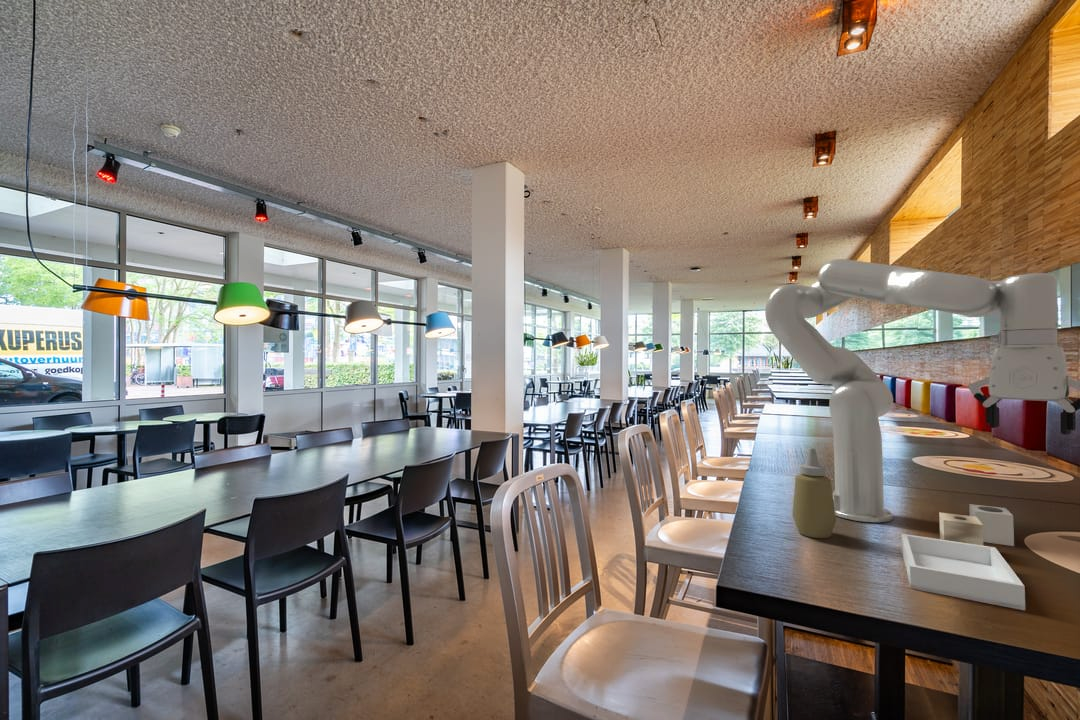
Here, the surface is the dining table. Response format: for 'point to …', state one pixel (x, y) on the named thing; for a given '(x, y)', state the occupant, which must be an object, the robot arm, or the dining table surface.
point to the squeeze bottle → (813, 499)
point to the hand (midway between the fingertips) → (1028, 430)
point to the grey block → (995, 524)
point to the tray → (961, 571)
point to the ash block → (961, 528)
